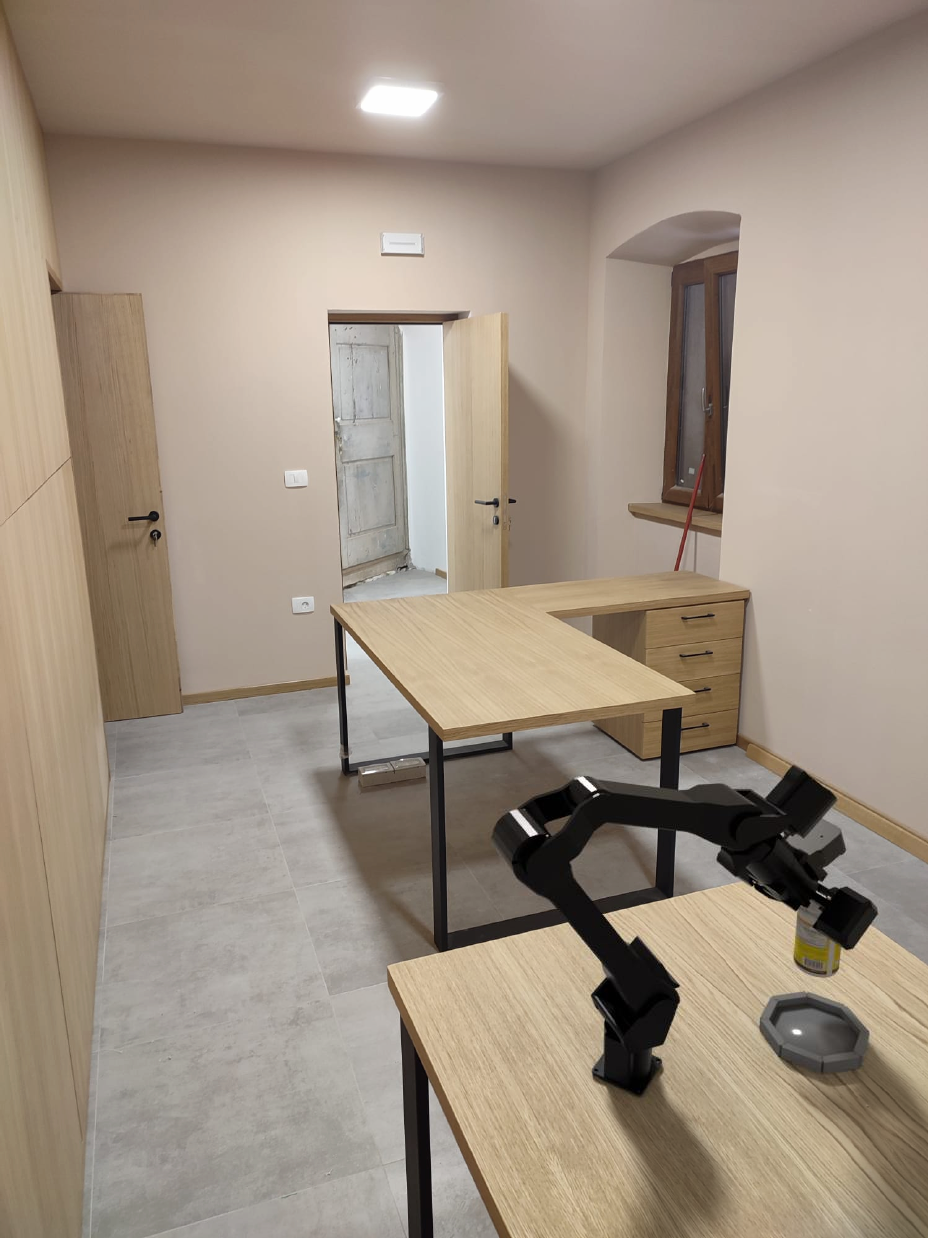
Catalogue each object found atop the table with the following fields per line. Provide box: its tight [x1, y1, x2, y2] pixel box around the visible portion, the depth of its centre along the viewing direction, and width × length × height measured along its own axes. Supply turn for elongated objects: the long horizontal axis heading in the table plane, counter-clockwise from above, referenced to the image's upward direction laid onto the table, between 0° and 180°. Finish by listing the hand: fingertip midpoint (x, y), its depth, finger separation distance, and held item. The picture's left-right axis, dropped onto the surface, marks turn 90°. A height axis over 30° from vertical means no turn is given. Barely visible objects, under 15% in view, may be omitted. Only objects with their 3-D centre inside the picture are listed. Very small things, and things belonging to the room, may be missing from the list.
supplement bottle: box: [792, 891, 842, 979], centre depth 111 cm, size 6×6×10 cm
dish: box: [758, 990, 871, 1075], centre depth 108 cm, size 12×12×2 cm
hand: (827, 918), depth 111 cm, fingers closed on supplement bottle, 5 cm apart
